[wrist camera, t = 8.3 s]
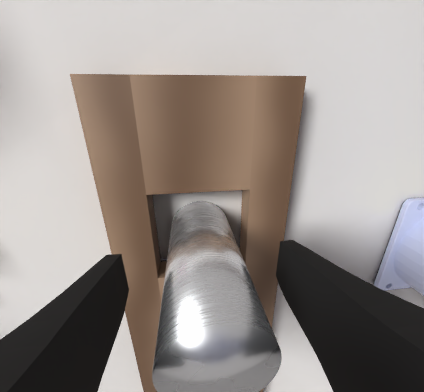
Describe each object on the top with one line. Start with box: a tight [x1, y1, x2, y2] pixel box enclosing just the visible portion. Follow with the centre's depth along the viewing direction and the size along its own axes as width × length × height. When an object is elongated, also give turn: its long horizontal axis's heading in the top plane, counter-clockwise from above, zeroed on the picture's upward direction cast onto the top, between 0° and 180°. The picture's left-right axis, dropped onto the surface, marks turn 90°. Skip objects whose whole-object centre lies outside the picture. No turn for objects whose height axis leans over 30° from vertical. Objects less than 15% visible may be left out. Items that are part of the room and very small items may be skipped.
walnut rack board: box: [70, 74, 306, 392], centre depth 15 cm, size 10×32×2 cm, turn 1°
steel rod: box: [152, 201, 281, 392], centre depth 9 cm, size 4×4×8 cm
